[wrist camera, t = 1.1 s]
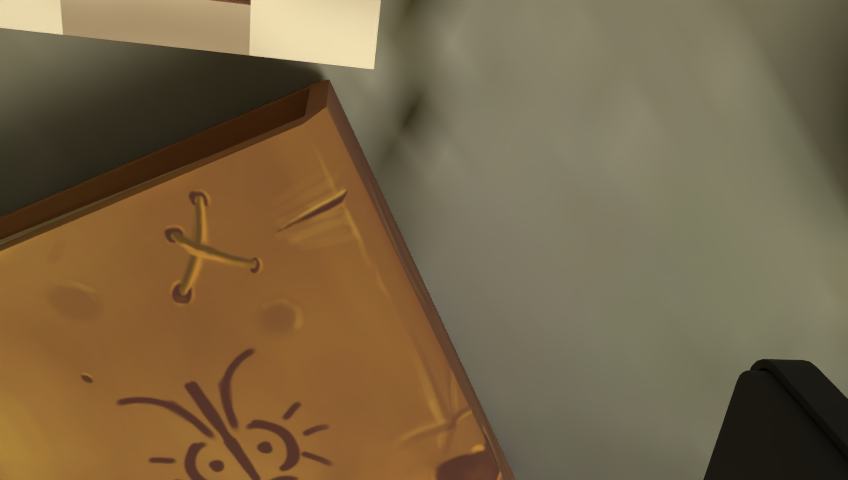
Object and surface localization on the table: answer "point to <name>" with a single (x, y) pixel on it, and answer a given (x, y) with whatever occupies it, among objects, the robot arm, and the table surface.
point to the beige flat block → (215, 25)
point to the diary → (230, 320)
